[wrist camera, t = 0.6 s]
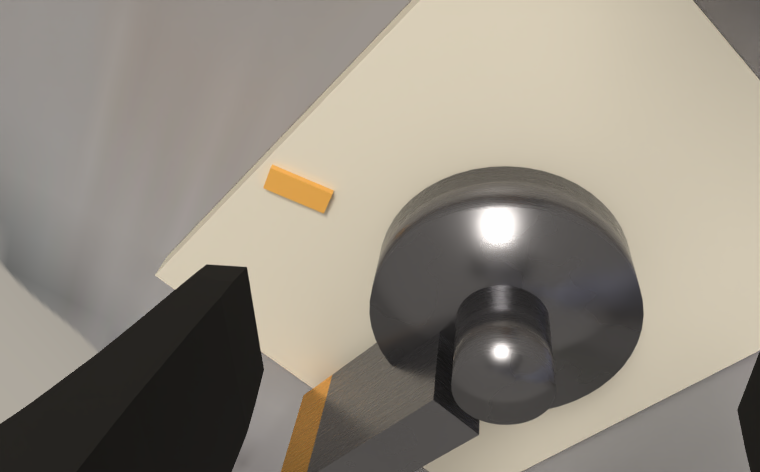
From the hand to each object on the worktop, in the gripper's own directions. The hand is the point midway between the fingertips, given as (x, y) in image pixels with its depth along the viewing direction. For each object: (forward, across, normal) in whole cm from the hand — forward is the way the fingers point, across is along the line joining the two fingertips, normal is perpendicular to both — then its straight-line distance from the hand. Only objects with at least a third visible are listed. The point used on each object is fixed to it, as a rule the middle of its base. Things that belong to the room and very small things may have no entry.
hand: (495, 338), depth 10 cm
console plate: (+10, 0, +5) cm, 11 cm away
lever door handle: (+9, +1, +7) cm, 11 cm away
